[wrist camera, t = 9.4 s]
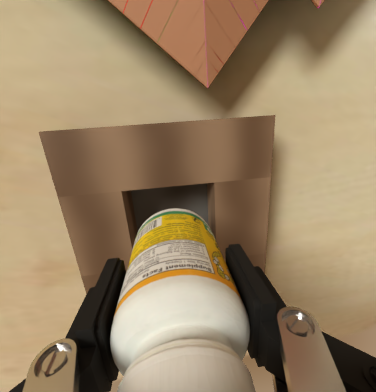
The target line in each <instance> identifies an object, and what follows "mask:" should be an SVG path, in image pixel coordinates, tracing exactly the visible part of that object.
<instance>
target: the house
mask: <svg viewBox="0 0 376 392" xmlns="http://www.w3.org/2000/svg"><path fill="white" fill-rule="evenodd" d="M108 1H109V2H110V3H111V4H112V5H114V6H115V7H116V8H117V9H118V10H119V11H120V12H121V13H123V14H124V15H125V16H126V17H127V18H128V19H129V20H130V21H132V22H133V23H134V24H135V25H136V26H137V27H138V28H140V29H141V30H142V31H143V32H144V33H145V34H146V35H147V36H149V37H150V38H151V39H152V40H153V41H154V42H155V43H157V44H158V45H159V46H160V47H161V48H162V49H163V50H164V51H166V52H167V53H168V54H169V55H170V56H171V57H172V58H173V59H175V60H176V61H177V62H178V63H179V64H180V65H181V66H183V67H184V68H185V69H186V70H187V71H188V72H189V73H190V74H192V75H193V76H194V77H195V78H196V79H197V80H198V81H199V82H201V83H202V84H203V85H204V86H205V87H206V88H208V87H209V86H210V84H211V83H212V81H213V80H214V78H215V77H216V76H217V74H218V73H219V71H220V70H221V68H222V67H223V65H224V64H225V63H226V61H227V60H228V58H229V57H230V55H231V54H232V52H233V51H234V49H235V48H236V47H237V45H238V44H239V42H240V41H241V39H242V38H243V36H244V35H245V34H246V32H247V31H248V29H249V28H250V26H251V25H252V23H253V22H254V21H255V19H256V18H257V16H258V15H259V13H260V12H261V10H262V9H263V7H264V6H265V5H266V3H267V2H268V0H108ZM311 1H312V2H313V4H314V5H315V6H316V7H317V9H318V8H319V7H320V6H321V4H322V3H323V2H324V0H311Z"/></svg>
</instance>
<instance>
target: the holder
mask: <svg viewBox="0 0 376 392" xmlns="http://www.w3.org/2000/svg"><path fill="white" fill-rule="evenodd" d="M274 126H275V115H271V116H257V117H243V118H229V119H215V120H200V121H186V122H172V123H158V124H144V125H129V126H115V127H101V128H87V129H73V130H58V131H44V132H39V135H40V138H41V142H42V145H43V148H44V152H45V155H46V159H47V162H48V165H49V169H50V172H51V175H52V179H53V182H54V186H55V189H56V192H57V196H58V199H59V202H60V206H61V209H62V213H63V216H64V219H65V223H66V226H67V229H68V233H69V236H70V240H71V243H72V246H73V250H74V253H75V256H76V260H77V263H78V267H79V270H80V273H81V277H82V280H83V283H84V287H85V290H86V294H87V293H88V291H89V289H90V288H91V287H95V285H96V283H97V281H98V279H99V277H100V274H101V272H102V270H103V268H104V266H105V263H106V261H107V260H108V259H111V258H120V260H123V261H124V264H125V269H126V272H127V268H128V265H129V261H130V257H131V253H132V249H133V246H134V242H135V239H136V236H137V233H138V231H139V229H140V227H141V226H142V224H143V223H144V222H145V221H146V220H147V219H148V218H149V217H151V216H152V215H154V214H156V213H158V212H160V211H162V210H166V209H174V208H179V209H186V210H190V211H192V212H194V213H196V214H198V215H199V216H200V217H201V218H203V220H204V221H205V222H206V223H207V224H208V226H209V227H210V229H211V231H212V233H213V235H214V237H215V239H216V242H217V244H218V247H219V249H220V251H221V253H222V255H223V258H224V260H225V262H226V259H225V249H226V248H228V247H229V245H231V244H240V245H241V247H242V248H243V250H244V252H245V253H246V255H247V256H248V258H249V259H250V261H251V263H252V264H253V266H254V267H255V266H259V267H260V268H261V269H262V271H263V272H264V274H265V260H266V245H267V230H268V215H269V200H270V186H271V171H272V156H273V141H274Z"/></svg>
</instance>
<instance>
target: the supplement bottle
mask: <svg viewBox="0 0 376 392" xmlns="http://www.w3.org/2000/svg"><path fill="white" fill-rule="evenodd" d="M249 338H250V324H249V318H248V315H247V312H246V309H245V306H244V304H243V302H242V299H241V297H240V294H239V292H238V290H237V287H236V285H235V283H234V281H233V278H232V276H231V274H230V272H229V269H228V267H227V265H226V262H225V260H224V258H223V255H222V253H221V251H220V249H219V247H218V244H217V242H216V239H215V237H214V235H213V233H212V231H211V229H210V227H209V226H208V224H207V223H206V222H205V221H204V220H203V218H201V217H200V216H199V215H198V214H196V213H194V212H192V211H190V210H186V209H179V208H174V209H166V210H162V211H160V212H158V213H156V214H154V215H152V216H151V217H149V218H148V219H147V220H146V221H145V222H144V223H143V224H142V226H141V227H140V229H139V231H138V233H137V236H136V239H135V242H134V246H133V249H132V253H131V257H130V261H129V265H128V268H127V272H126V275H125V279H124V282H123V286H122V289H121V293H120V296H119V300H118V303H117V307H116V311H115V314H114V318H113V322H112V327H111V332H110V348H111V353H112V357H113V360H114V362H115V364H116V366H117V368H118V370H119V371H120V373H121V374H122V375H123V379H122V381H121V382H120V384H119V387H118V391H117V392H255V388H254V385H253V381H252V377H251V375H250V372H249V370H248V368H247V367H246V365H245V364H244V363H243V361H242V360H243V358H244V356H245V353H246V351H247V348H248V344H249Z"/></svg>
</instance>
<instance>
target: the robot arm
mask: <svg viewBox="0 0 376 392" xmlns="http://www.w3.org/2000/svg"><path fill="white" fill-rule="evenodd" d="M225 259H226V265H227V267H228V269H229V272H230V274H231V276H232V278H233V281H234V283H235V285H236V287H237V290H238V292H239V294H240V297H241V299H242V302H243V304H244V306H245V309H246V312H247V315H248V318H249V324H250V338H249V344H248V348H247V350H248V352H249V355H250V357H251V358H255V360H256V363H257V365H258V367H261V366H265V368H266V370H267V371H269V372H270V373H272V378H273V385H274V392H376V358H375V357H373V356H371V355H369V354H367V353H365V352H363V351H361V350H359V349H356V348H354V347H352V346H350V345H348V344H346V343H344V342H342V341H340V340H338V339H336V338H334V337H332V336H330V335H328V334H326V333H324V332H322V331H321V329H320V327H319V325H318V323H317V321H316V320H315V319H314V318H313V317H312V316H311V315H310V314H309V313H307V312H306V311H304V310H302V309H300V308H297V307H287V306H286V305H285V303H284V302H283V300H282V299H281V297H280V296H279V294H278V293H277V291H276V290H275V288H274V287H273V286H272V284H271V283H270V281H269V280H268V278H267V277H266V275H265V274H264V272H263V271H262V269H261V268H260V267H259V266H255V267H254V266H253V264H252V263H251V261H250V259H249V258H248V256H247V255H246V253H245V252H244V250H243V248H242V247H241V245H240V244H231V245H229V247H228V248H226V249H225ZM125 275H126V269H125V264H124V261H123V260H120V258H111V259H108V260H107V261H106V263H105V266H104V268H103V270H102V272H101V274H100V277H99V279H98V281H97V283H96V285H95V287H91V288H90V289H89V291H88V293H87V295H86V297H85V299H84V301H83V303H82V305H81V307H80V309H79V311H78V313H77V315H76V317H75V319H74V321H73V323H72V325H71V328H70V330H69V332H68V334H67V336H66V338H65V339H60V340H57V341H55V342H53V343H51V344H49V345H48V346H47V347H45V348H44V349H43V350H42V351H41V352H40V353H39V354H38V355H37V356H36V357H35V359H34V360H33V362H32V363H31V366H30V368H29V371H28V374H27V378H26V379H25V380H23V381H22V382H21V383H20V384H18V385H17V386H16V387H14V388H13V389H12V390H11V391H9V392H109V391H111V386H112V381H114V380H116V379H117V376H118V372H119V370H118V368H117V366H116V364H115V362H114V360H113V357H112V353H111V348H110V332H111V327H112V322H113V318H114V314H115V311H116V307H117V303H118V300H119V296H120V293H121V289H122V286H123V282H124V279H125Z"/></svg>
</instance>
